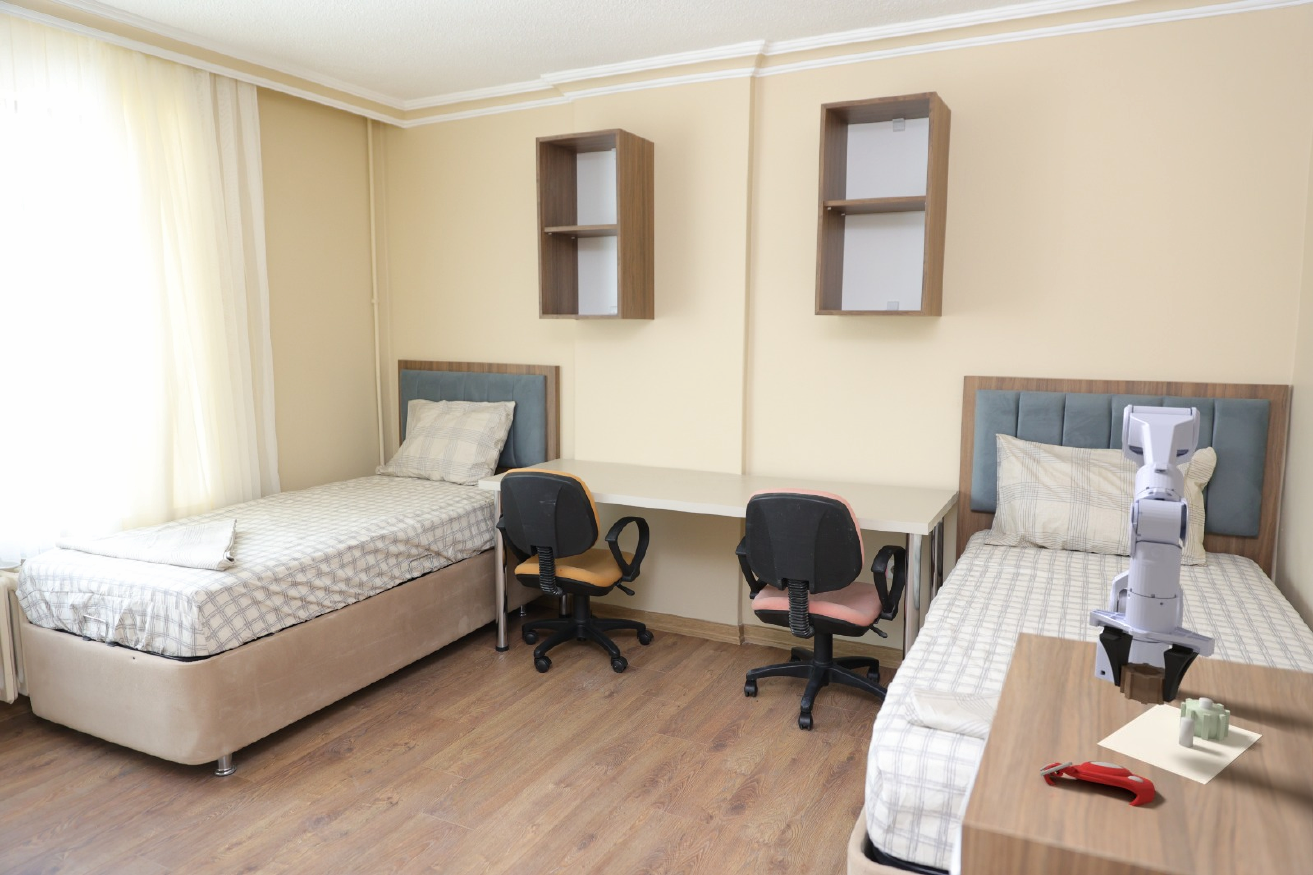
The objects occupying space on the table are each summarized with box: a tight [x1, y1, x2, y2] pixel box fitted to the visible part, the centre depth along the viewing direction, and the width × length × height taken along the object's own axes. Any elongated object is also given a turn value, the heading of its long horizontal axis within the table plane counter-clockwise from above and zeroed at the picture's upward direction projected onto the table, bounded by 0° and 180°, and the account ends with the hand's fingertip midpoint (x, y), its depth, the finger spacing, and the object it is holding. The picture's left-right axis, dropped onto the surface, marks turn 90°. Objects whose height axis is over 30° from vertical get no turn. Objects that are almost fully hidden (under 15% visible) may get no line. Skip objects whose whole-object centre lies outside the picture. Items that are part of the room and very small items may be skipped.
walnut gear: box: [1119, 662, 1165, 706], centre depth 115 cm, size 5×5×4 cm
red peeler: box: [1039, 761, 1156, 807], centre depth 106 cm, size 12×4×10 cm
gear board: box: [1096, 697, 1263, 785], centre depth 118 cm, size 13×20×6 cm, turn 129°
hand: (1144, 692), depth 115 cm, fingers closed on walnut gear, 5 cm apart
